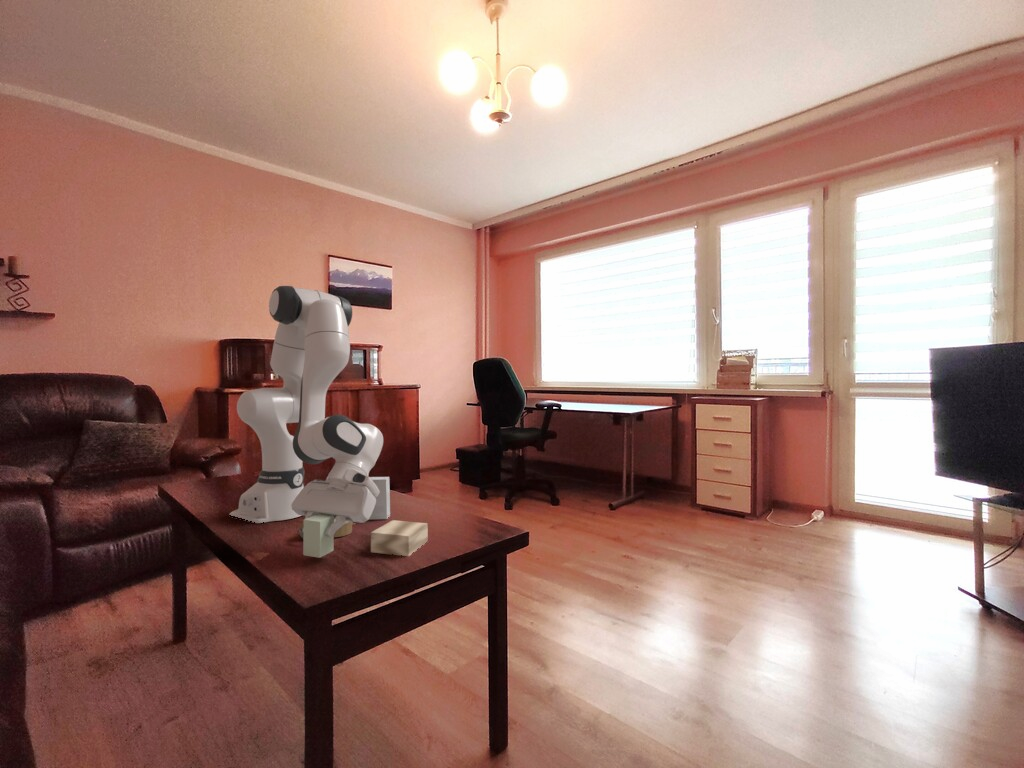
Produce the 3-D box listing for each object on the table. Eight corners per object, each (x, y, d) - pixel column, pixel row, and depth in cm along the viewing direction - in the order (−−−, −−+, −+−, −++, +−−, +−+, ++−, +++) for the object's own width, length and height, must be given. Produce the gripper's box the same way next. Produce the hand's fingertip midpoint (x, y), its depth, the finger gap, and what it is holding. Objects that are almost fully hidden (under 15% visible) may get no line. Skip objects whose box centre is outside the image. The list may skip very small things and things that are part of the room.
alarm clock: (362, 519, 124) (322, 524, 110) (360, 537, 123) (319, 545, 109) (330, 514, 128) (288, 519, 114) (328, 532, 127) (285, 539, 113)
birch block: (370, 553, 106) (370, 532, 106) (392, 539, 116) (392, 520, 116) (408, 557, 104) (408, 536, 104) (427, 542, 113) (427, 523, 113)
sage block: (303, 555, 100) (303, 519, 100) (317, 548, 104) (317, 514, 104) (319, 557, 99) (320, 521, 99) (333, 550, 103) (333, 515, 103)
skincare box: (390, 515, 136) (390, 476, 136) (386, 520, 132) (387, 479, 132) (370, 515, 136) (370, 476, 136) (365, 520, 131) (366, 479, 131)
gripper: (304, 471, 111) (272, 522, 102) (375, 478, 105) (348, 532, 96) (316, 485, 115) (287, 535, 106) (385, 492, 109) (360, 546, 100)
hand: (316, 534), depth 101 cm, fingers closed on sage block, 4 cm apart
